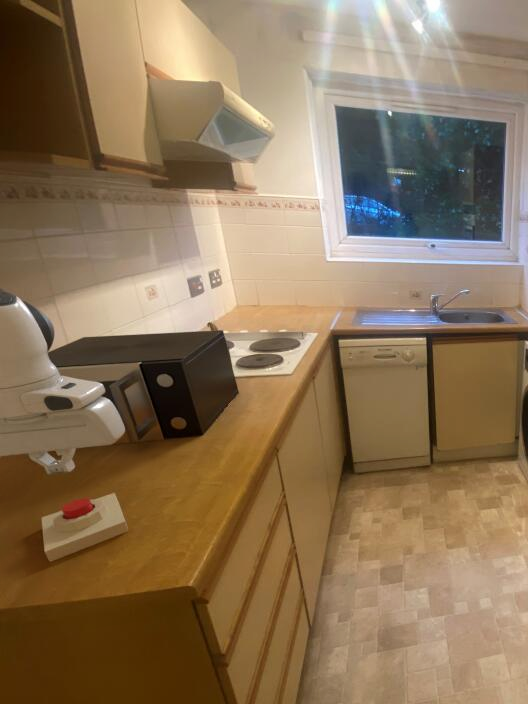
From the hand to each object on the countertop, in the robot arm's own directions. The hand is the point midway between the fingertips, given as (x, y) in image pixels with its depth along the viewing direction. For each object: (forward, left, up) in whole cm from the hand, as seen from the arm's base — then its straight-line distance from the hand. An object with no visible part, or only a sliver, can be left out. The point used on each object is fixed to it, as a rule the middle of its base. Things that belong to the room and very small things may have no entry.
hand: (62, 471), depth 73 cm
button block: (0, 0, -12) cm, 12 cm away
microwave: (-31, +37, -12) cm, 50 cm away
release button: (0, 0, -9) cm, 9 cm away
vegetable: (-33, +65, -12) cm, 74 cm away
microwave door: (-27, +21, -12) cm, 36 cm away
